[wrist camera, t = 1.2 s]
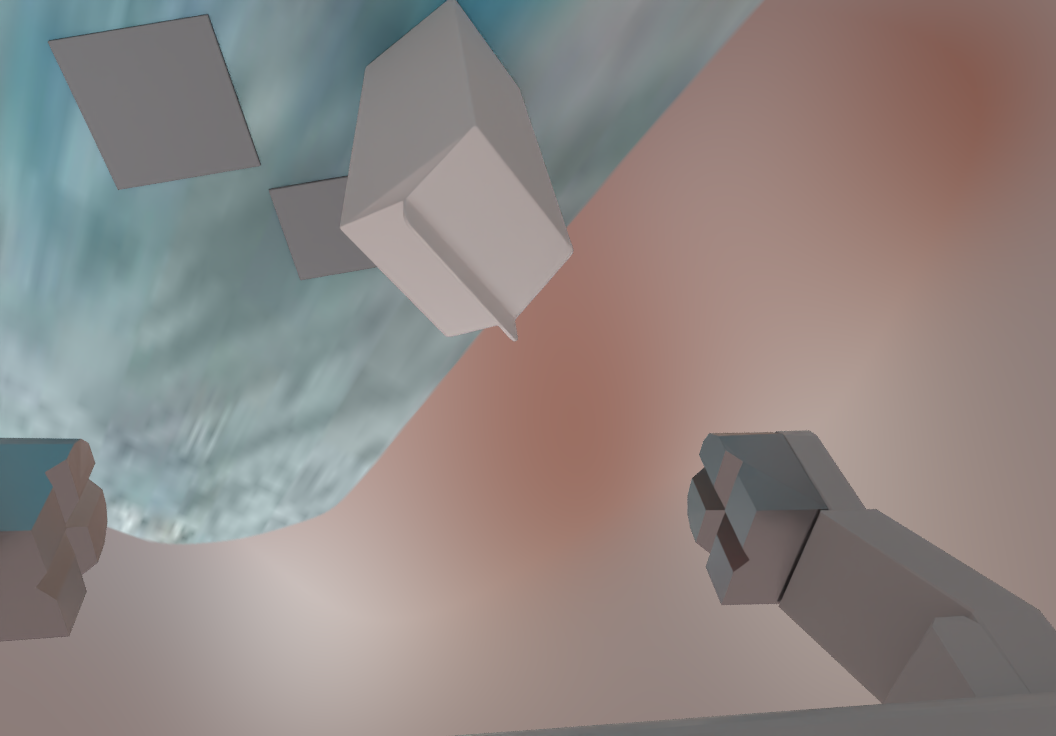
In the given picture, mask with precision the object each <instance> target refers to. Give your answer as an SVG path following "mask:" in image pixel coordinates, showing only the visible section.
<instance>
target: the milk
mask: <svg viewBox="0 0 1056 736" xmlns="http://www.w3.org/2000/svg"><path fill="white" fill-rule="evenodd" d="M340 229H341V230H342V231H343V233H344V234H345V235H346V236H347V237H348V238H349V239H350V240H351V241H352V242H353V243H354V244H355V245H356V246H357V247H358V248H359V249H360V250H361V251H362V252H363V253H364V254H365V255H366V256H367V257H368V258H369V259H370V260H371V261H372V262H373V263H374V264H375V265H376V266H377V267H378V268H379V269H380V270H381V271H382V272H383V273H384V274H385V275H386V276H387V277H388V278H389V279H390V280H391V281H392V282H393V283H394V284H395V285H396V286H397V287H398V288H399V289H400V290H401V291H402V292H403V293H404V294H405V295H406V296H407V297H408V298H409V299H410V300H411V301H412V302H413V304H414V305H415V306H416V307H417V308H418V309H419V310H420V311H421V312H422V313H423V314H424V315H425V316H426V317H427V318H428V319H429V320H430V321H431V322H432V323H433V324H434V325H435V326H436V327H437V328H438V329H439V330H440V331H441V332H442V333H443V334H444V335H445V336H447V337H451V336H456V335H460V334H464V333H468V332H472V331H476V330H480V329H484V328H488V327H492V326H497V325H498V326H499V327H500V328H501V329H502V330H503V331H504V332H505V334H506V335H507V336H508V337H509V338H510V339H511V340H513V341H516V340H518V337H517V331H516V325H515V319H516V318H517V317H518V316H519V315H520V313H521V312H522V311H523V310H524V309H525V308H526V307H527V305H528V304H529V303H530V302H531V301H532V300H533V299H534V298H535V296H536V295H537V294H538V293H539V292H540V291H541V289H542V288H543V287H544V286H545V285H546V284H547V283H548V282H549V280H550V279H551V278H552V277H553V276H554V275H555V274H556V272H557V271H558V270H559V269H560V268H561V267H562V266H563V264H564V263H565V262H566V261H567V260H568V259H569V257H570V256H571V255H572V253H573V247H572V244H571V241H570V238H569V235H568V232H567V229H566V226H565V223H564V220H563V217H562V214H561V211H560V208H559V205H558V202H557V199H556V196H555V193H554V190H553V187H552V184H551V181H550V178H549V175H548V172H547V169H546V166H545V163H544V160H543V157H542V154H541V151H540V148H539V145H538V142H537V139H536V136H535V133H534V130H533V127H532V124H531V121H530V118H529V116H528V113H527V110H526V107H525V104H524V101H523V98H522V95H521V92H520V89H519V87H518V86H517V84H516V83H515V82H514V80H513V79H512V77H511V76H510V75H509V73H508V72H507V70H506V69H505V68H504V66H503V65H502V64H501V62H500V61H499V59H498V58H497V57H496V55H495V54H494V52H493V51H492V50H491V48H490V47H489V45H488V44H487V43H486V41H485V40H484V38H483V37H482V36H481V34H480V33H479V32H478V30H477V29H476V27H475V26H474V25H473V23H472V22H471V20H470V19H469V18H468V16H467V15H466V13H465V12H464V11H463V9H462V8H461V6H460V5H459V4H458V2H457V1H456V0H447V1H446V2H445V3H443V4H442V5H441V6H440V7H439V8H437V9H436V10H435V11H434V12H432V13H431V14H430V15H429V16H428V17H426V18H425V19H424V20H423V21H421V22H420V23H419V24H418V25H417V26H415V27H414V28H413V29H412V30H410V31H409V32H408V33H407V34H406V35H404V36H403V37H402V38H401V39H399V40H398V41H397V42H396V43H395V44H393V45H392V46H391V47H390V48H388V49H387V50H386V51H385V52H384V53H382V54H381V55H380V56H379V57H377V58H376V59H375V60H374V61H373V62H371V63H370V64H369V65H368V66H367V67H366V69H365V74H364V80H363V87H362V93H361V99H360V105H359V111H358V117H357V124H356V130H355V136H354V142H353V148H352V154H351V160H350V167H349V173H348V179H347V185H346V191H345V197H344V203H343V210H342V216H341V222H340Z"/></svg>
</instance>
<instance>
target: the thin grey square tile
mask: <svg viewBox="0 0 1056 736" xmlns="http://www.w3.org/2000/svg"><path fill="white" fill-rule="evenodd" d="M48 43H49V46H50V48H51V50H52V52H53V54H54V56H55V58H56V60H57V62H58V64H59V67H60V69H61V71H62V73H63V75H64V77H65V79H66V81H67V83H68V85H69V88H70V90H71V92H72V94H73V96H74V98H75V100H76V102H77V104H78V107H79V109H80V111H81V113H82V115H83V117H84V119H85V121H86V123H87V125H88V128H89V130H90V132H91V134H92V136H93V138H94V140H95V142H96V144H97V146H98V149H99V151H100V153H101V155H102V157H103V159H104V161H105V163H106V165H107V168H108V170H109V172H110V174H111V176H112V178H113V180H114V182H115V184H116V186H117V189H118V190H120V189H126V188H132V187H138V186H144V185H150V184H156V183H162V182H168V181H174V180H179V179H185V178H191V177H197V176H203V175H209V174H215V173H221V172H227V171H233V170H239V169H244V168H250V167H256V166H260V165H261V164H260V161H259V158H258V155H257V153H256V150H255V147H254V144H253V141H252V138H251V135H250V133H249V130H248V127H247V124H246V121H245V118H244V115H243V113H242V110H241V107H240V104H239V101H238V98H237V96H236V93H235V90H234V87H233V84H232V81H231V78H230V76H229V73H228V70H227V67H226V64H225V61H224V58H223V56H222V53H221V50H220V47H219V44H218V41H217V39H216V36H215V33H214V30H213V27H212V24H211V21H210V19H209V16H208V14H206V15H200V16H194V17H188V18H182V19H176V20H170V21H164V22H158V23H152V24H146V25H140V26H134V27H128V28H122V29H116V30H110V31H104V32H97V33H91V34H85V35H79V36H73V37H67V38H61V39H55V40H49V41H48Z"/></svg>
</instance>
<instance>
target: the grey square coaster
mask: <svg viewBox="0 0 1056 736" xmlns="http://www.w3.org/2000/svg"><path fill="white" fill-rule="evenodd" d="M347 179H348V176H344V177H338V178H332V179H326V180H320V181H314V182H308V183H302V184H296V185H291V186H285V187H279V188H273V189H269V192H270V195H271V198H272V201H273V204H274V207H275V210H276V212H277V215H278V218H279V221H280V224H281V227H282V229H283V232H284V235H285V238H286V241H287V244H288V246H289V249H290V252H291V255H292V258H293V261H294V264H295V266H296V269H297V272H298V275H299V278H300V280H305V279H311V278H317V277H322V276H328V275H334V274H340V273H346V272H352V271H357V270H363V269H369V268H375V267H377V266H376V265H375V264H374V263H373V262H372V261H371V260H370V259H369V258H368V257H367V256H366V255H365V254H364V253H363V252H362V251H361V250H360V249H359V248H358V247H357V246H356V245H355V244H354V243H353V242H352V241H351V240H350V239H349V238H348V237H347V236H346V235H345V234H344V233H343V231H342V230H341V229H340V222H341V216H342V210H343V203H344V197H345V191H346V185H347Z"/></svg>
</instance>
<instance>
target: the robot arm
mask: <svg viewBox="0 0 1056 736" xmlns="http://www.w3.org/2000/svg"><path fill="white" fill-rule="evenodd" d="M699 455H700V458H701V460H702V462H703V464H704V468H703V469H702V470H701V471H700V472H699V473H697V475H695V476H694V477H693V478H692V481H691V484H690V488H689V492H688V518H689V523H690V528H691V531H692V534H693V536H694V539H695V542H696V543H697V544H699V545H700V546H701V547H703V548H704V549H705V550H706V551H708V552H709V553H710V556H709V559H708V562H707V565H706V569H707V571H708V574H709V576H710V578H711V581H712V583H713V585H714V588H715V590H716V593H717V595H718V598H719V600H720V603H721V604H722V605H738V604H739V605H740V604H779V607H780V608H781V609H782V610H783V611H784V612H785V613H786V614H787V615H788V616H789V617H790V618H792V620H794V621H795V622H796V623H797V624H798V625H799V626H800V627H801V628H802V629H803V630H804V631H805V632H806V633H807V634H809V635H810V636H811V637H812V638H813V639H814V640H815V641H816V642H817V643H818V644H819V645H820V646H821V647H822V648H823V649H825V650H826V651H827V652H828V653H829V654H830V655H831V656H832V657H833V658H834V659H835V660H836V661H837V662H838V663H840V664H841V665H842V666H843V667H844V668H845V669H846V670H847V671H848V672H849V673H850V674H851V675H852V676H853V677H854V678H856V679H857V680H858V681H859V682H860V683H861V684H862V685H863V686H864V687H865V688H866V689H867V690H868V691H869V692H871V693H872V694H873V695H874V696H875V697H876V698H877V699H878V700H879V701H880V702H881V703H882V704H876V705H863V706H849V707H835V708H822V709H809V710H796V711H795V710H794V711H781V712H768V713H754V714H740V715H726V716H715V717H714V716H713V717H700V718H686V719H673V720H659V721H647V722H634V723H619V724H606V725H592V726H579V727H565V728H552V729H539V730H526V731H511V732H497V733H484V734H471V735H456V736H1056V631H1055V629H1054V628H1053V627H1052V625H1051V624H1050V623H1049V622H1048V621H1047V619H1046V618H1045V617H1044V615H1043V614H1042V613H1041V611H1040V610H1038V609H1037V608H1035V607H1034V606H1032V605H1030V604H1029V603H1027V602H1025V601H1024V600H1022V599H1020V598H1019V597H1017V596H1015V595H1014V594H1013V593H1011V592H1009V591H1008V590H1006V589H1005V588H1003V587H1001V586H1000V585H998V584H996V583H995V582H993V581H992V580H990V579H988V578H987V577H985V576H983V575H982V574H980V573H979V572H977V571H975V570H973V569H972V568H971V567H969V566H967V565H966V564H964V563H962V562H961V561H959V560H957V559H956V558H954V557H952V556H951V555H950V554H948V553H946V552H945V551H943V550H941V549H940V548H938V547H937V546H935V545H933V544H932V543H930V542H929V541H927V540H925V539H923V538H922V537H920V536H919V535H917V534H915V533H914V532H912V531H910V530H909V529H907V528H906V527H904V526H902V525H901V524H899V523H898V522H896V521H894V520H893V519H891V518H890V517H888V516H886V515H885V514H883V513H882V512H880V511H878V510H877V509H871V510H870V509H866V508H865V506H864V505H863V504H862V502H861V501H860V499H859V498H858V496H857V495H856V493H855V492H854V490H853V489H852V487H851V486H850V484H849V483H848V481H847V480H846V478H845V477H844V475H843V474H842V472H841V471H840V469H839V468H838V466H837V465H836V463H835V462H834V460H833V459H832V457H831V456H830V454H829V453H828V451H827V450H826V448H825V447H824V445H823V444H822V442H821V441H820V439H819V438H818V436H817V435H815V434H814V433H812V432H811V431H778V432H777V431H776V432H775V433H773V432H763V433H710V434H708V436H707V437H706V439H705V440H704V441H703V444H702V447H701V451H700V454H699ZM94 465H95V461H94V458H93V455H92V452H91V449H90V446H89V443H88V442H86V441H84V440H82V439H52V438H0V641H12V640H25V639H40V638H53V637H66V636H69V635H70V633H71V631H72V628H73V625H74V623H75V620H76V617H77V615H78V613H79V610H80V607H81V604H82V602H83V600H84V597H85V594H86V587H85V584H84V581H83V578H82V574H84V573H85V572H86V571H87V570H89V569H90V568H91V567H93V566H94V565H95V564H97V563H98V560H99V558H100V555H101V552H102V549H103V546H104V542H105V535H106V528H107V509H106V502H105V498H104V494H103V490H102V489H101V488H100V487H99V486H97V485H96V484H95V483H93V482H92V481H91V480H89V476H90V474H91V472H92V469H93V467H94Z"/></svg>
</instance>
